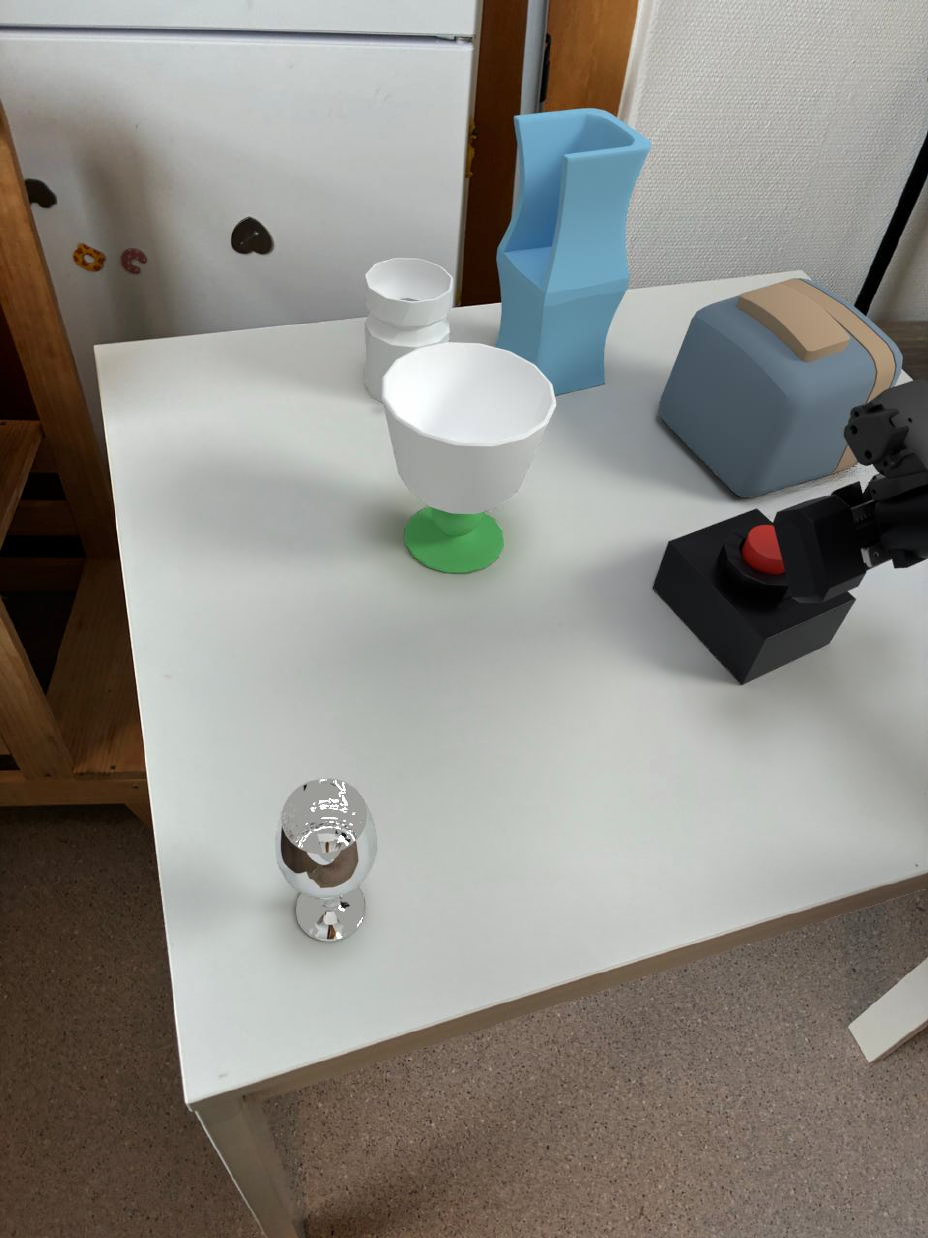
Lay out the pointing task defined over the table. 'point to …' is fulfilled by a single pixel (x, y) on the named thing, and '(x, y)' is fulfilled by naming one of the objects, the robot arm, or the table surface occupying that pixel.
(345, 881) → the wineglass
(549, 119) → the vase
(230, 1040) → the table surface
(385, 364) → the vase
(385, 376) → the cup
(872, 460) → the robot arm
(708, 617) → the control block
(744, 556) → the button
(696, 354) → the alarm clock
